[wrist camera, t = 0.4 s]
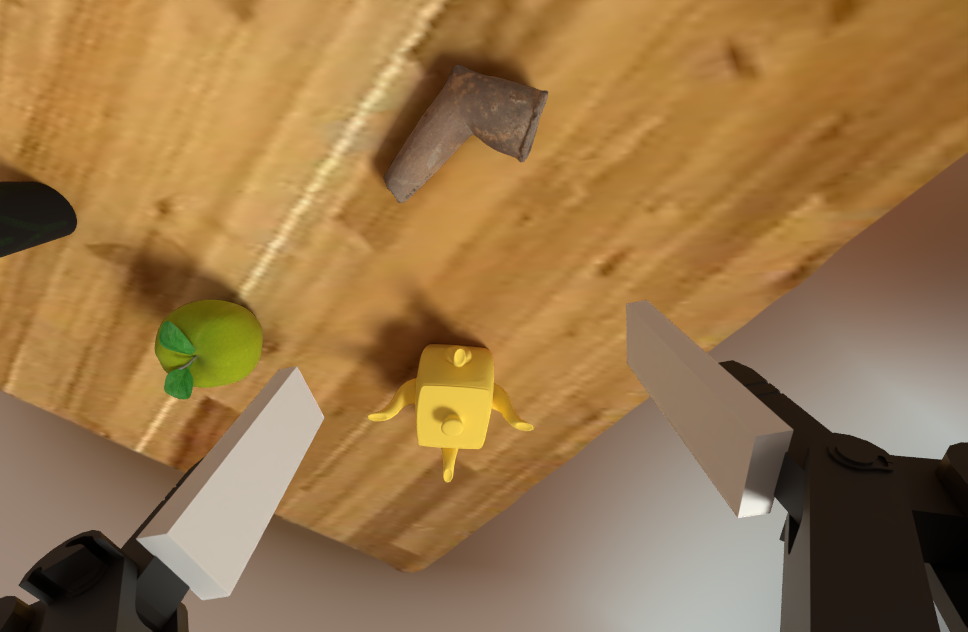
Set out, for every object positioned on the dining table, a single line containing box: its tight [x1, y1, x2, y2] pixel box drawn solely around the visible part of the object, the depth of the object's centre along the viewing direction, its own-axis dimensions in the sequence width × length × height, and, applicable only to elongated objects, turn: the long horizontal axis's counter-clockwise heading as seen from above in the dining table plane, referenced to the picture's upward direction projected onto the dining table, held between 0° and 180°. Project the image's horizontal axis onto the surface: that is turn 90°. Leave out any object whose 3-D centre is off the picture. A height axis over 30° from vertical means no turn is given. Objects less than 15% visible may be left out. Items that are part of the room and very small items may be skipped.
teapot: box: [368, 344, 533, 482], centre depth 43 cm, size 15×14×10 cm
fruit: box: [155, 300, 263, 399], centre depth 38 cm, size 9×9×10 cm
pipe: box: [384, 65, 548, 203], centre depth 33 cm, size 6×17×10 cm
